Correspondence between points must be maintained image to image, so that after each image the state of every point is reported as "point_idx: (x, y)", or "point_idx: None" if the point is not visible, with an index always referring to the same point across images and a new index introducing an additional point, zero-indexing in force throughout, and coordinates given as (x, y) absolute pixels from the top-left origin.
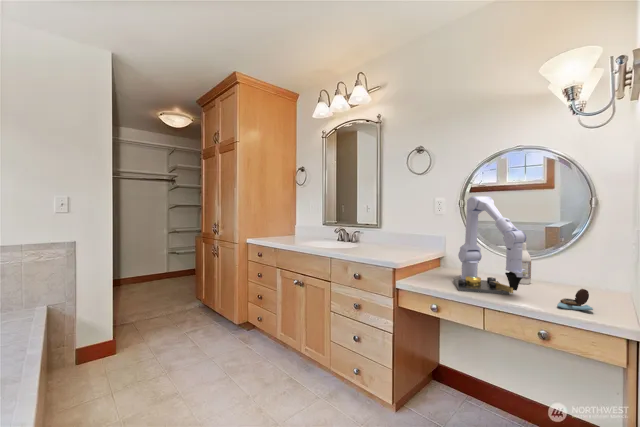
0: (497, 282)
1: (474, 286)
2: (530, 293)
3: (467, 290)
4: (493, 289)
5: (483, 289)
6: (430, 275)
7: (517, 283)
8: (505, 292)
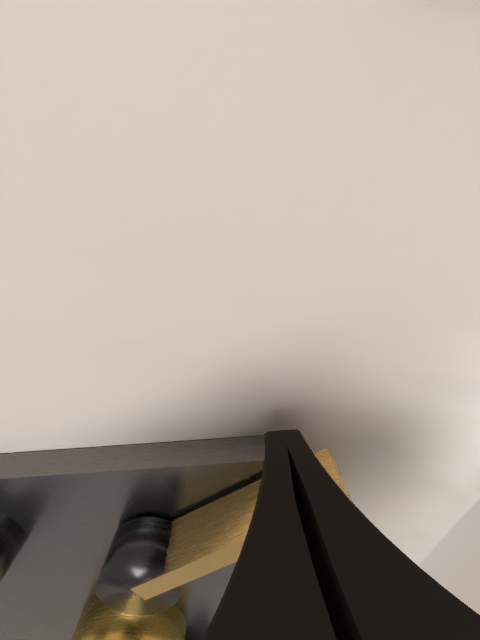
0: (165, 576)
1: (209, 621)
2: (127, 245)
3: None
4: None
5: None
6: None
7: (332, 504)
8: None
